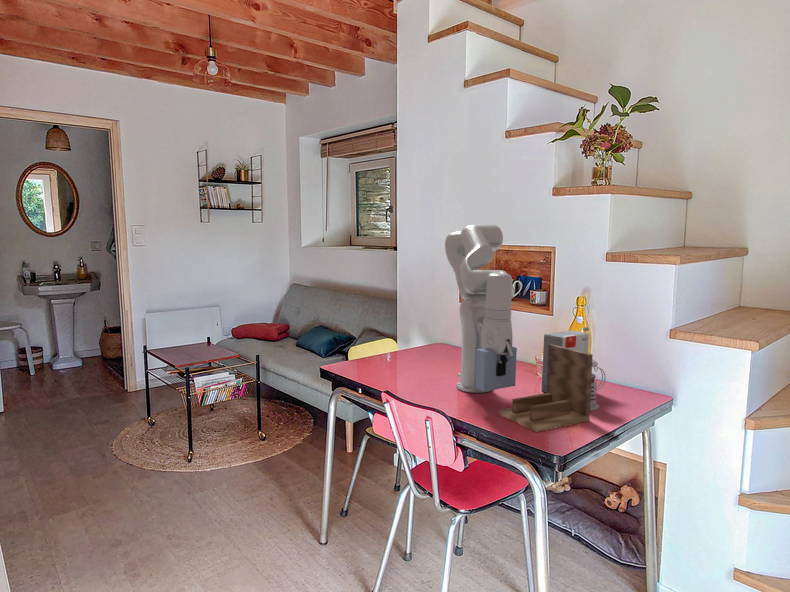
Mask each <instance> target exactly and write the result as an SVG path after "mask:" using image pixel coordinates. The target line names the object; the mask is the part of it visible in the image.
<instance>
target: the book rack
mask: <svg viewBox="0 0 790 592" xmlns="http://www.w3.org/2000/svg"><path fill="white" fill-rule="evenodd" d="M592 359H593V354H592V353H589V352H588V353H585V352H581V351H577V350H573V349H569V348H565V347H561V346H557V345H553V344H549V345H548V369H547V392H545V393H540V394H535V395H528V396H524V397H523V396H522V397H517V398H512V400H511V403H512V404H511V407H508V408H507V407H506V408H502V409H498V415H499V416H500V415H502V416H501V417H503V416H504V417H503V418H505V417H506V418H505V419H507V418H509V419H511V420H513V421H515V422H517V423H519V424H521V425H520V426H522V425H523V426H522V427H524V426H525V427H524V428H526V427H527V428H526V429H528V428H529V429H528V430H530V429H531V430H530V431H532V430H533V431H532V432H534V431H535V433H540V432H539V431H541V432H543V431H542V430H545V431H547V430H546V429H550V430H552V429H551V428H554V429H556V428H555V427H559V428H561V427H560V426H564V427H566V426H565V425H568V426H571V425H570V424H573V425H576V423H577V424H582V423H586V422H589V421H590V419H591V418H590V417H591V410H590V400H591V378H592V374H593V373H592V372H593V367H592ZM509 419H508V420H509ZM511 420H510V421H511ZM513 421H512V422H513ZM515 422H514V423H515ZM581 422H582V423H581ZM517 423H516V424H517ZM519 424H518V425H519Z"/></svg>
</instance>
